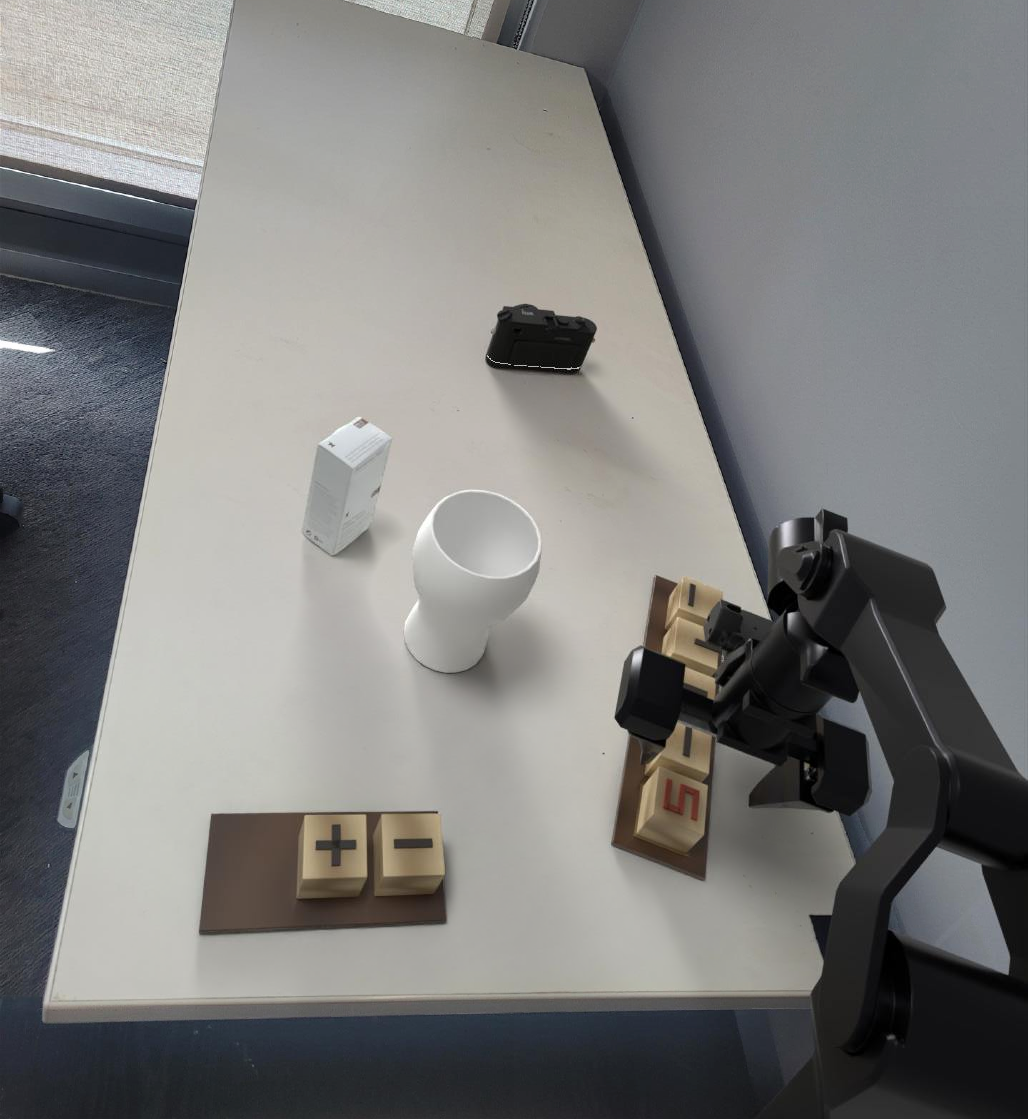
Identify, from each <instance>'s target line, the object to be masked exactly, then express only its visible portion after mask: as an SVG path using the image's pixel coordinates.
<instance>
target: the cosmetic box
mask: <svg viewBox="0 0 1028 1119" xmlns="http://www.w3.org/2000/svg"><path fill="white" fill-rule="evenodd" d="M392 442H393V438H392V437H391V436H390V435H388V434H387V433H386V432H384V431H383V430H381V429H380V428H378V427H377V426H375V425H374V424H372V423H371V422H369V421H367V420H366V419H364V417H362V416H358V417H356V418H354V419H353V420H352V421H350V422H349V423H348V424H345V425H343V426H340V427H339V428H337V429H336V430H335V431H334V432H333V433H332V434H331V435H330V436H328V437H327V438H325V439H324V440H322V441H321V442H319V443H318V444H317V446H316V451H315V456H314V457H315V458H314V462H313V468H312V473H311V479H310V484H309V489H308V495H307V500H306V506H305V511H304V516H303V522H302V526H301V534H302V535H303V536H304V537H306V538H307V539H308V540H310V541H311V542H312V543H313V544H315V545H316V546H318V547H319V548H320V549H322V551H324V552H326V554H328V555H330V556H334V555H337V554H339V552H341V551H342V550H344V549H345V548H347V547H348V546H349V545H350V544H351V543H352V542H355V540H356V539H358V538H359V537H360V536H361V535H362V534H363V533H365V532H366V531H367V530H368V529H369V528H370V527H371V525H372V523H373V519H374V515H375V511H376V507H377V503H378V499H379V494H380V491H381V487H382V482H383V479H384V475H385V471H386V466H387V462H388V460H389V454H390V450H391V447H392Z"/></svg>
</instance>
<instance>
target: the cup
mask: <svg viewBox="0 0 1028 1119" xmlns="http://www.w3.org/2000/svg"><path fill="white" fill-rule="evenodd" d="M542 543H543V540H542V536H541V532H540V529H539V527H538V525H537V524H536V522H535V520H534V519H533V517H532V515H531V514H530V513H529V512H528V511H527V510H526V509H525V508H524V507H523V506H522V505H520V504H518V503H517V502H515V501H514V500H512V499H511V498H509V497H506V496H505V495H502V494H500V493H497V492H493V491H489V490H486V489H466V490H460V491H455V492H454V493H452V494H449V495H447V496H445V497H444V498H442V499H441V500H440V501H439V502H438V503H437V504H436V505H435V507H433V509H432V510H431V511H430V513H429V514H428V516H426V517H425V519H424V521H423V523H422V525H420V528H419V530H418V531H417V535H416V538H415V541H414V544H413V547H412V553H411V568H412V569H411V570H412V576H413V577H412V578H413V583H414V588H415V591H416V593H417V596H418V600H417V602H416V603H415V604H414V606H412V609H411V610H410V613H409V615H408V616H407V618H406V620H405V622H404V628H403V636H404V642H405V645H406V647H407V649H408V651H409V652H410V654H411V655H412V656H413V657H414V658H415V660H416V661H418V662H419V663H420V664H422V665H423V666H424V667H427V668H429V669H431V670H434V671H436V672H441V673H446V674H447V673H450V674H451V673H454V674H455V673H459V672H460V673H461V672H464V671H468V670H469V669H471V668H472V667H474V666H476V665H477V664H478V662H479V661H480V660H481V659H482V657H483V655H484V653H485V650H486V646H487V643H488V637H489V632H490V628H491V627H493V626H495V625H497V624H499V623H500V622H502V621H504V620H505V619H507V618H509V616H511V615H512V614H513V613H514V612H516V611H517V610H518V609H519V608H520V607H521V606H522V605H523V603H524V602H526V600H527V599H528V597H529V595H530V593H531V592H532V590H533V588H534V585H535V583H536V581H537V578H538V575H539V574H540V568H541V558H542V548H543V547H542Z"/></svg>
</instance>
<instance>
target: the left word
mask: <svg viewBox="0 0 1028 1119" xmlns="http://www.w3.org/2000/svg"><path fill="white" fill-rule="evenodd" d="M441 816H442V814H441V813H439V810H415V811H413V810H408V811H403V810H402V811H400V810H399V811H395V810H394V811H318V812H317V811H304V812H303V811H302V812H301V811H299V812H295V811H293V812H287V811H286V812H214V813H213V812H212V813H211V814H210V821H209V830H208V840H207V850H206V858H205V868H204V878H203V886H202V887H203V888H202V899H201V908H200V918H199V928H198V935H207V934H208V935H210V934H230V933H231V934H232V933H233V934H234V933H253V932H275V931H295V930H296V931H297V930H316V929H317V930H319V929H320V930H321V929H338V928H339V929H342V928H360V927H361V928H363V927H381V926H382V927H384V926H405V925H406V926H407V925H428V924H430V925H431V924H444V923H446V921H447V909H446V899H445V897H446V896H445V882H444V877H445V875H446V869H445V857H444V842H443V829H442V817H441Z"/></svg>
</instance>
